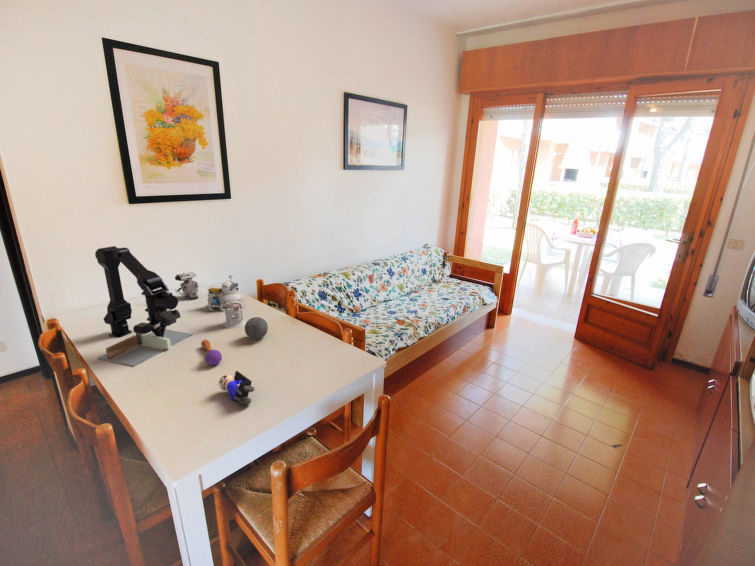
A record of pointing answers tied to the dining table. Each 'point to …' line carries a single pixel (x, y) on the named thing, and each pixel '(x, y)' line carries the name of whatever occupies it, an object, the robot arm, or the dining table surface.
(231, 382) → the character figurine
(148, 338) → the swing panel
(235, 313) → the french press
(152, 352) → the card
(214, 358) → the kendama
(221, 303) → the robotic toy
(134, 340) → the brown wooden bar
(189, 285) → the figurine
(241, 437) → the dining table surface
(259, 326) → the decorative ball
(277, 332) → the dining table surface
